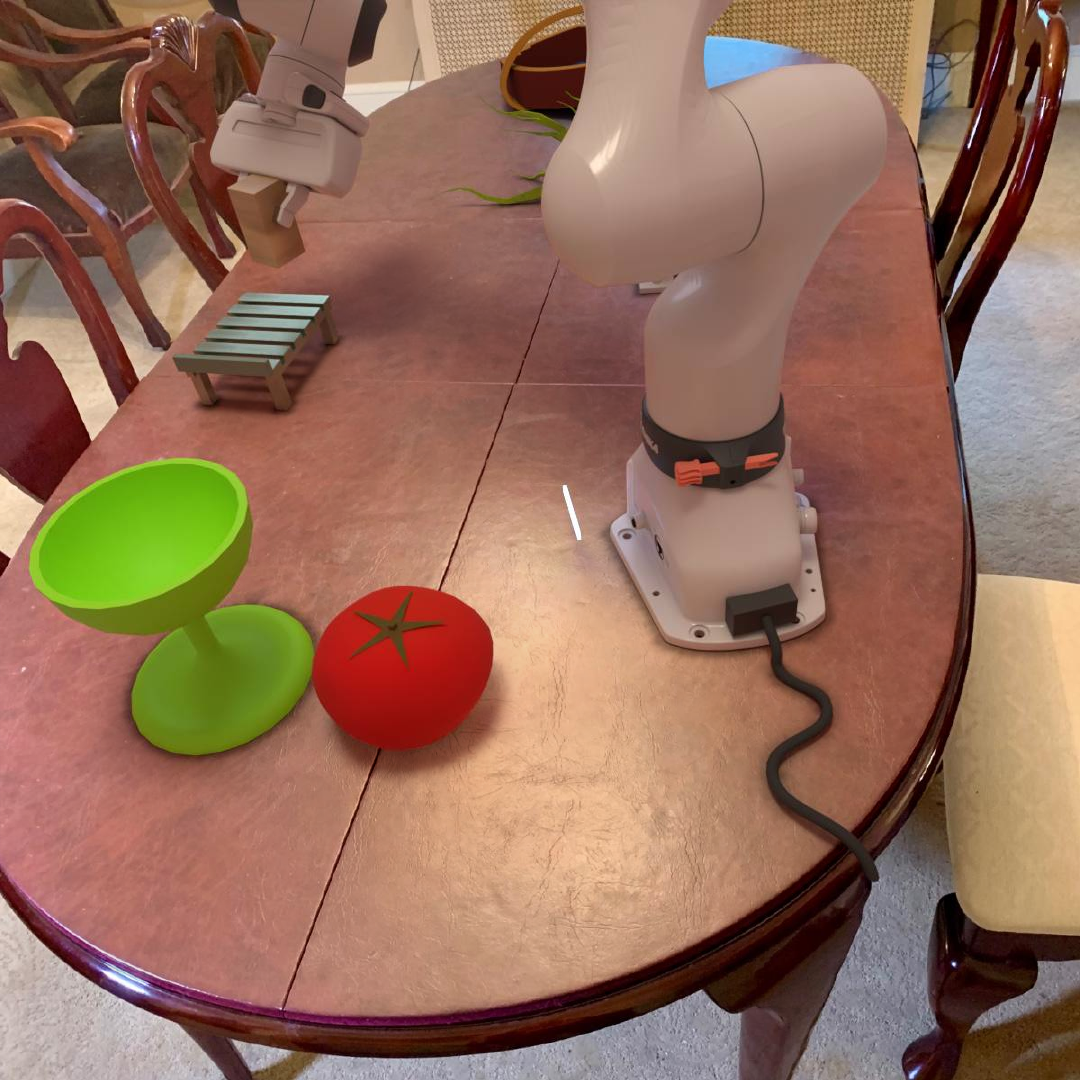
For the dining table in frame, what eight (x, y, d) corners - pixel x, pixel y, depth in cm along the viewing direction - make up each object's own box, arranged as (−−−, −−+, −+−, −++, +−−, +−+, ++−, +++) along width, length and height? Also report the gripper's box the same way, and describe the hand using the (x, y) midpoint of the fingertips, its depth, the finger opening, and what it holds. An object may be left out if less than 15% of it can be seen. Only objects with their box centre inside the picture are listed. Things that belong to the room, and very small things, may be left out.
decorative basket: (675, 69, 182) (671, -20, 173) (703, 98, 158) (700, -3, 150) (502, 96, 183) (490, 9, 175) (505, 129, 160) (490, 30, 151)
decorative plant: (491, 163, 155) (477, 68, 144) (658, 181, 142) (655, 79, 132) (432, 211, 144) (412, 112, 134) (607, 235, 132) (599, 128, 121)
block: (279, 244, 114) (255, 171, 107) (305, 251, 111) (282, 177, 105) (252, 261, 111) (226, 187, 105) (278, 269, 109) (253, 194, 103)
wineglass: (165, 610, 88) (78, 464, 76) (330, 602, 87) (270, 451, 74) (103, 758, 77) (-10, 614, 64) (292, 751, 75) (213, 603, 63)
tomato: (319, 777, 73) (278, 698, 66) (343, 649, 82) (310, 567, 75) (500, 766, 72) (479, 684, 65) (504, 637, 81) (486, 552, 74)
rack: (285, 416, 109) (265, 362, 104) (195, 410, 112) (171, 357, 107) (342, 337, 120) (326, 284, 115) (259, 333, 123) (240, 281, 118)
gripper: (216, 78, 108) (183, 196, 110) (343, 97, 99) (305, 226, 100) (257, 104, 114) (224, 215, 115) (381, 124, 104) (344, 246, 106)
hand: (263, 221), depth 108 cm, fingers closed on block, 4 cm apart
